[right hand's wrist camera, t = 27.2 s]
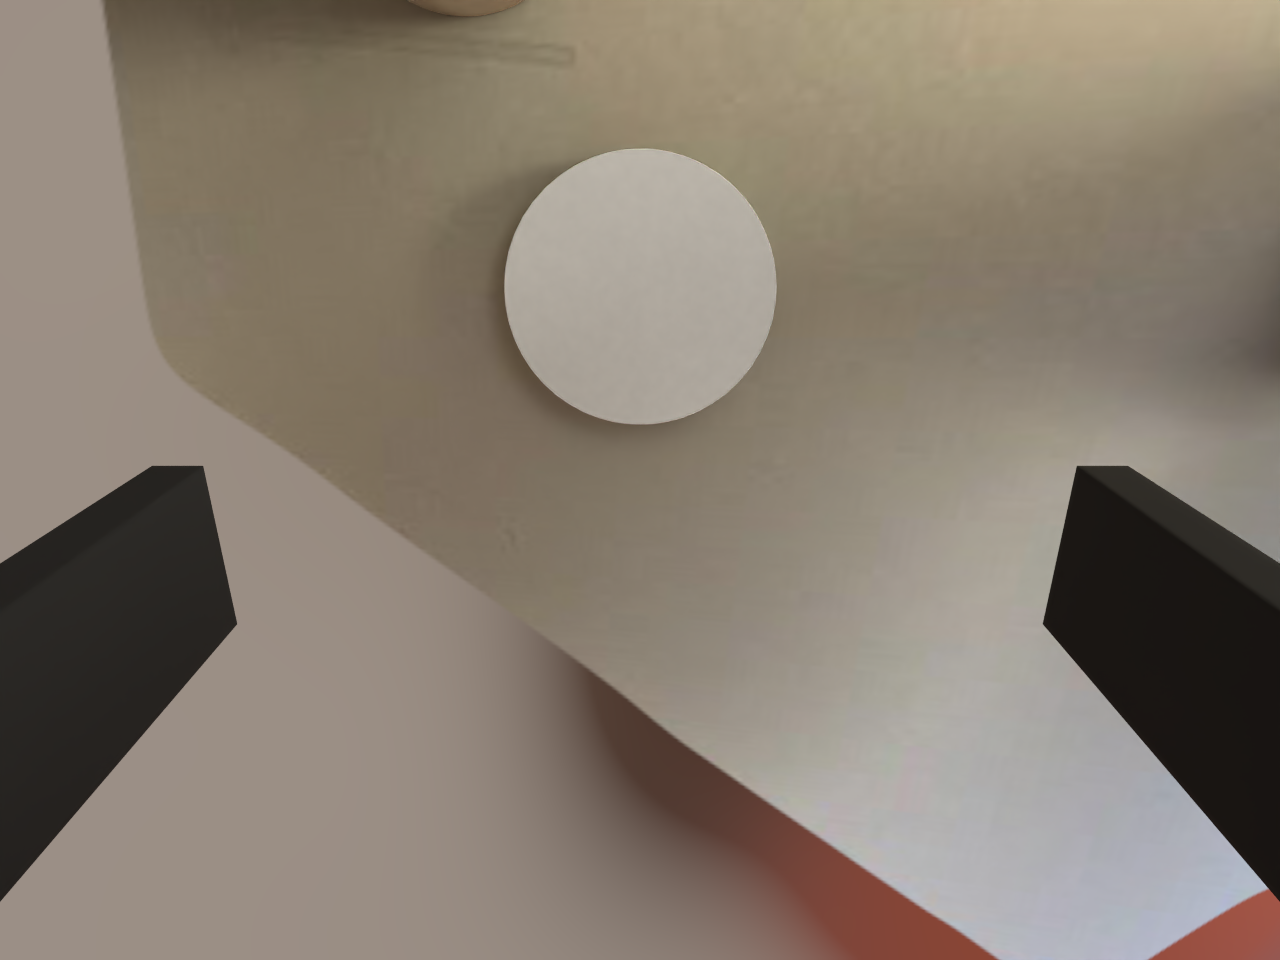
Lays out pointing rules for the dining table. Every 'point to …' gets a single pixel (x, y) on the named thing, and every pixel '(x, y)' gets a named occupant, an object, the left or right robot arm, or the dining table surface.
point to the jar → (466, 6)
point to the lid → (640, 286)
